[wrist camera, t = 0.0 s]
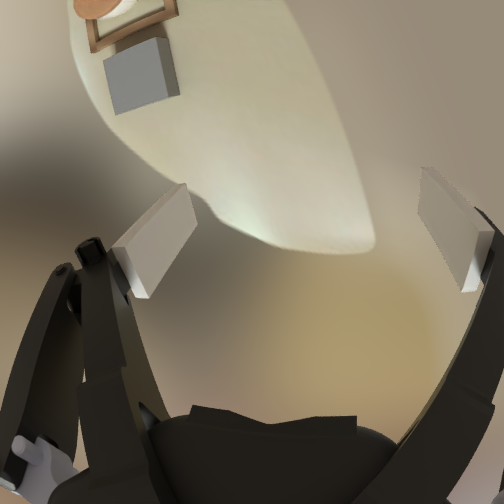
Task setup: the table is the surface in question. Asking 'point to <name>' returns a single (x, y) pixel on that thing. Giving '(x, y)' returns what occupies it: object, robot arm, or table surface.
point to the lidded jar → (102, 8)
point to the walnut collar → (128, 27)
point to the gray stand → (141, 75)
